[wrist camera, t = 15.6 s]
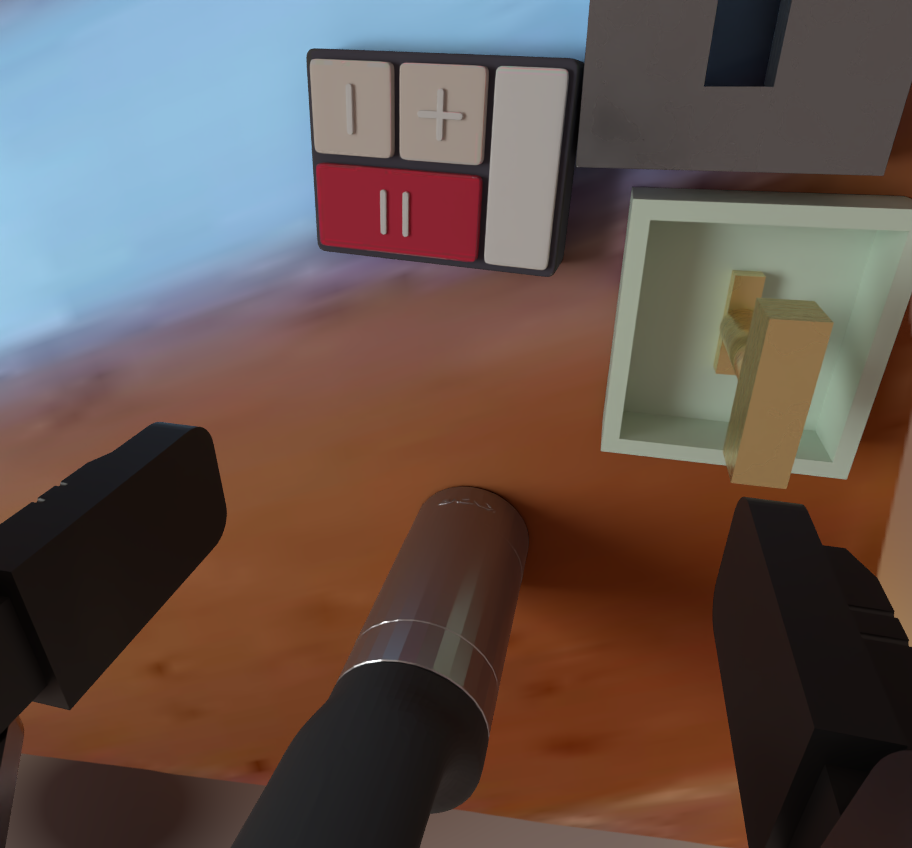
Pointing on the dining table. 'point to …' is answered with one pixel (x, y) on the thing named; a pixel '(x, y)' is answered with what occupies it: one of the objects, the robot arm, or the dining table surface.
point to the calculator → (444, 156)
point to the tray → (787, 277)
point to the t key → (768, 377)
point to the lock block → (745, 89)
